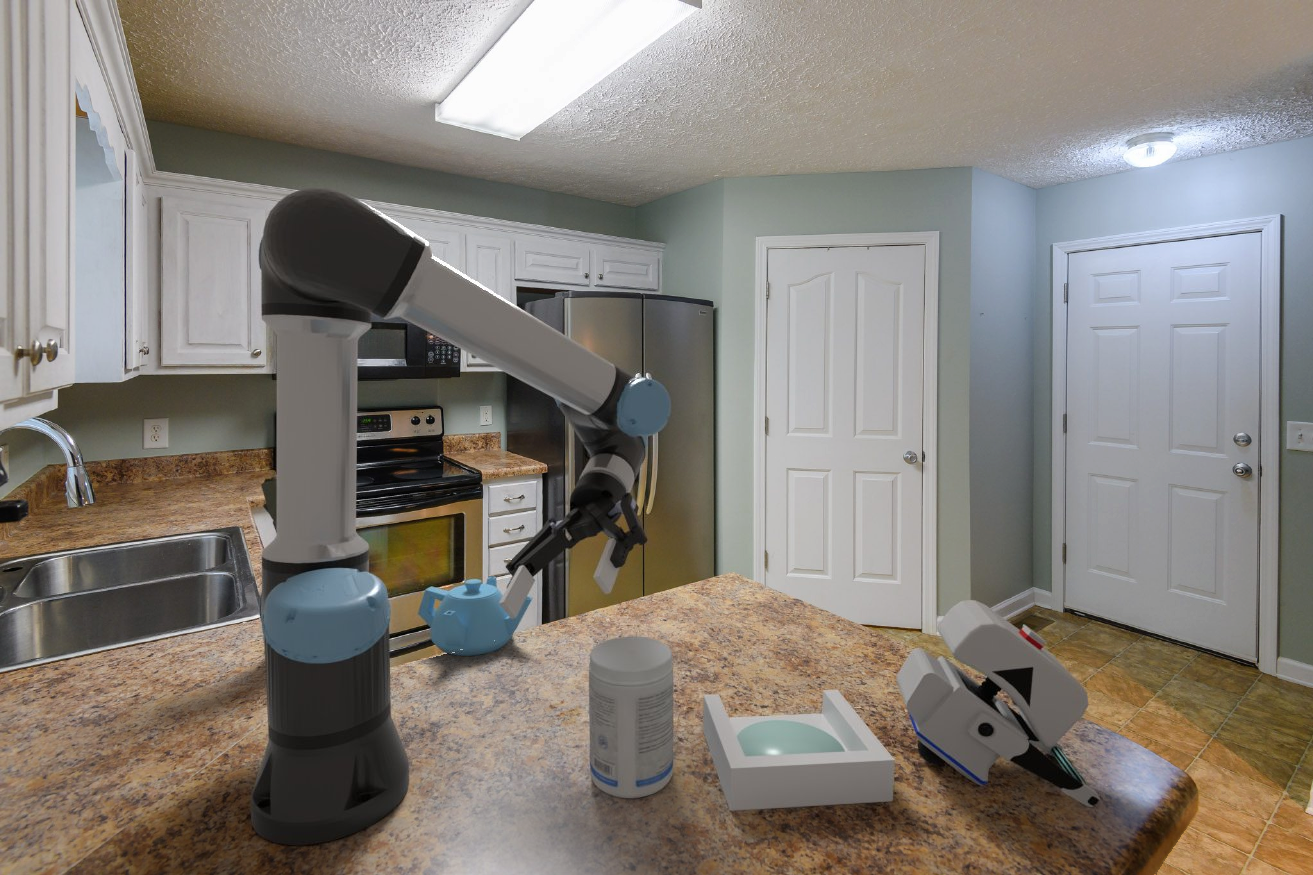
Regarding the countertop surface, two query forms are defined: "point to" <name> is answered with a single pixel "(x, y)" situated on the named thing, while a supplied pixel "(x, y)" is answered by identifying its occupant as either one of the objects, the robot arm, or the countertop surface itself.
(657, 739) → the supplement tub
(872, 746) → the housing
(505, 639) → the teapot
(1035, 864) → the countertop surface
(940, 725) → the robotic device
